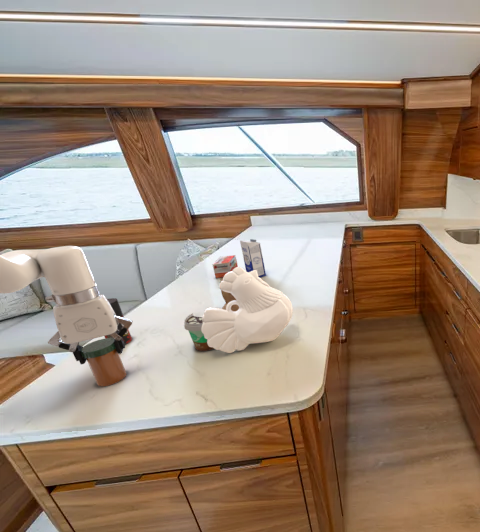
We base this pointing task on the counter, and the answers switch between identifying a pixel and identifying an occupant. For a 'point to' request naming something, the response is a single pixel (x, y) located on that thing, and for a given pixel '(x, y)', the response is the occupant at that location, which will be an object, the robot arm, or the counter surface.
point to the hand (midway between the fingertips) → (102, 355)
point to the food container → (196, 332)
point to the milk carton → (253, 257)
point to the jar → (107, 368)
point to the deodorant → (118, 312)
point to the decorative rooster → (246, 313)
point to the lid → (98, 348)
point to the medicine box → (224, 265)
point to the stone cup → (229, 300)
